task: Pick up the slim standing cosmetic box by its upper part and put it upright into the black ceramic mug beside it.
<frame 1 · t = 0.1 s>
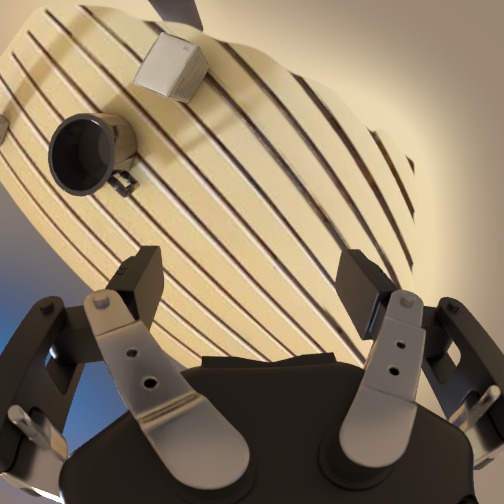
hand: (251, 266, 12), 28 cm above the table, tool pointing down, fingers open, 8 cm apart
vintage mobile phone: (1, 130, 30), on the table
cosmetic box: (185, 80, 31), on the table
mug: (105, 148, 34), on the table
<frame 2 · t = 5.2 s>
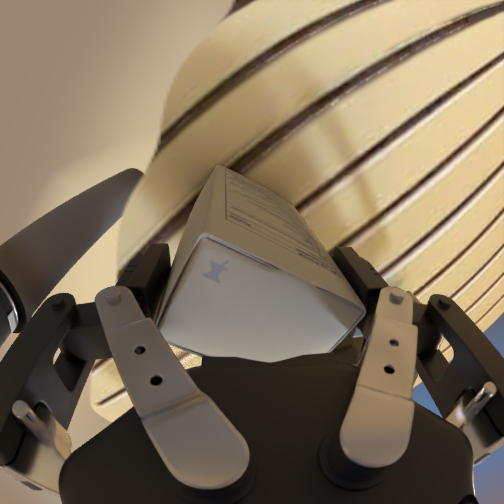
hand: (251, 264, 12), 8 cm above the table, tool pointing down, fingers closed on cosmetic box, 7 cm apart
cosmetic box: (243, 209, 20), on the table, touching gripper
mug: (333, 335, 25), on the table
when the fingers open (9 cm above the table, at t = 12.7 s): cosmetic box stays where it is, resting on mug.
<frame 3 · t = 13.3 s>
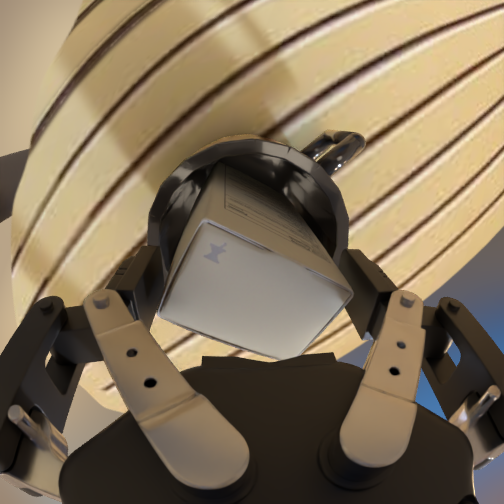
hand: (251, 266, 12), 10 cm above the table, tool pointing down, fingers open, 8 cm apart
cosmetic box: (242, 204, 21), point 1 cm above the table, touching mug
mug: (244, 202, 21), on the table
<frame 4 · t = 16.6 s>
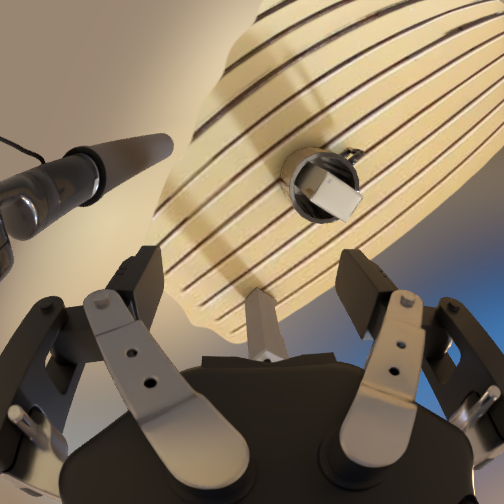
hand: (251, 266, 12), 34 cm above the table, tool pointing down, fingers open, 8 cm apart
vintage mobile phone: (260, 298, 54), on the table
cosmetic box: (311, 178, 44), point 1 cm above the table, touching mug
mug: (311, 177, 44), on the table
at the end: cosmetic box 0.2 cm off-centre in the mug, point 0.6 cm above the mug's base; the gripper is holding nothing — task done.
